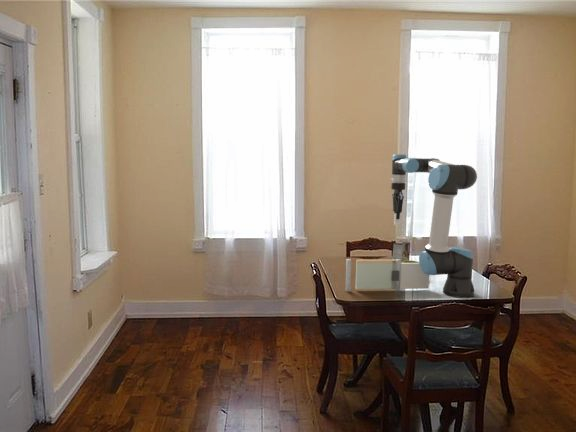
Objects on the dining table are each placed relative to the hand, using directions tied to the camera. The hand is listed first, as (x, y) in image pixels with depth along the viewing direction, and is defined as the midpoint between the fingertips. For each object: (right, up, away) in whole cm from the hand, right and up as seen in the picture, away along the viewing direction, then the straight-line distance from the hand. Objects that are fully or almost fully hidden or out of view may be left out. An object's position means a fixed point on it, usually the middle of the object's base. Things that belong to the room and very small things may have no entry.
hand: (396, 224), depth 320 cm
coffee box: (+6, -27, +19) cm, 34 cm away
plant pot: (+7, -29, 0) cm, 30 cm away
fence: (-11, -33, -30) cm, 46 cm away
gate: (-17, -32, -31) cm, 47 cm away
